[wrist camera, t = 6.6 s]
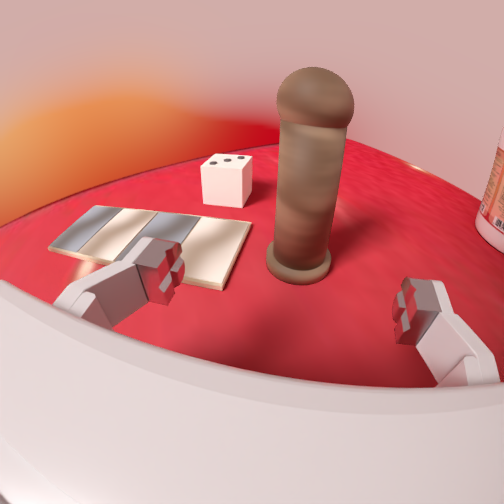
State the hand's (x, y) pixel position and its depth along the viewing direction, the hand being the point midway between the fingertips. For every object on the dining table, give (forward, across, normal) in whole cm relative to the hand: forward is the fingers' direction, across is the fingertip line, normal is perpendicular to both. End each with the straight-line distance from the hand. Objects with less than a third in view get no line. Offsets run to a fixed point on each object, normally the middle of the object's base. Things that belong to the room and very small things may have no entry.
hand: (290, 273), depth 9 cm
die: (+20, +9, +8) cm, 24 cm away
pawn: (+10, 0, +8) cm, 13 cm away
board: (+10, +15, +8) cm, 20 cm away
